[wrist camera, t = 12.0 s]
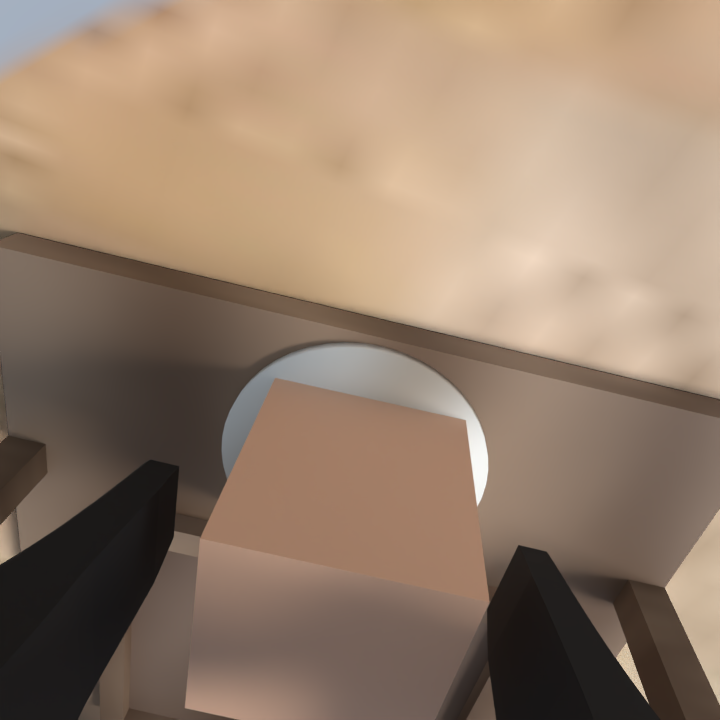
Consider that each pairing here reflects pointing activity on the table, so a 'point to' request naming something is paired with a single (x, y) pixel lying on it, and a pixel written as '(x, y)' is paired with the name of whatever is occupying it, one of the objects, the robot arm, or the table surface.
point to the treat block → (338, 564)
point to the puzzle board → (360, 378)
